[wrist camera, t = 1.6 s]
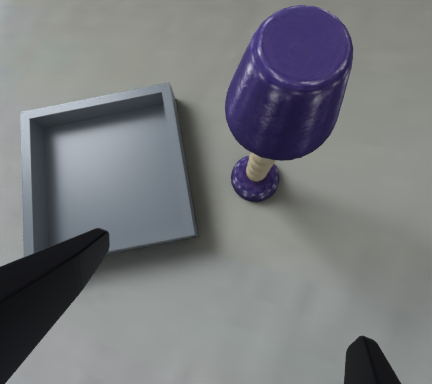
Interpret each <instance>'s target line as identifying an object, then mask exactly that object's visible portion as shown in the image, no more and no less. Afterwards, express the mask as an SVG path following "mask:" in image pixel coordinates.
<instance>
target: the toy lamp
mask: <svg viewBox="0 0 432 384" xmlns="http://www.w3.org/2000/svg"><path fill="white" fill-rule="evenodd" d="M352 60H353V45H352V41H351V37H350V35H349V32H348V30H347V28H346V27H345V25H344V24H343V23H342V22H341V21H340V20H339V19H338V18H337V17H336V16H334V15H333V14H332V13H330V12H329V11H327V10H324V9H321V8H318V7H314V6H306V5H298V6H292V7H288V8H284V9H282V10H280V11H278V12H276V13H274V14H273V15H271V16H269V17H268V18H267V19H266V20H265V21H264V22H263V23H262V24H261V25H260V27H259V28H258V29H257V31H256V32H255V34H254V35H253V37H252V39H251V41H250V43H249V45H248V47H247V49H246V51H245V53H244V55H243V57H242V59H241V62H240V64H239V66H238V68H237V70H236V72H235V74H234V77H233V79H232V81H231V83H230V86H229V88H228V92H227V96H226V102H225V113H226V120H227V123H228V126H229V128H230V131H231V132H232V134H233V136H234V137H235V139H236V140H237V141H238V142H239V144H240V145H242V146H243V147H244V148H245V149H247V150H248V151H250V152H251V153H250V155H248V156H246V157H244V158H242V159H241V160H239V161H238V162H237V163H236V165H235V166H234V168H233V171H232V174H231V182H232V186H233V188H234V190H235V191H236V193H237V194H238V195H239V196H241V197H242V198H244V199H246V200H249V201H254V202H258V201H263V200H265V199H267V198H269V197H270V196H271V195H273V193H274V192H275V191H276V189H277V187H278V183H279V173H278V170H277V167H276V166H275V164H274V162H275V161H276V160H281V161H283V160H293V159H296V158H301V157H303V156H305V155H307V154H309V153H311V152H313V151H314V150H316V149H317V148H318V147H319V146H321V145H322V144H323V143H324V142H325V140H326V139H327V138H328V137H329V135H330V134H331V132H332V130H333V128H334V126H335V124H336V121H337V118H338V115H339V111H340V108H341V104H342V101H343V98H344V94H345V90H346V86H347V82H348V78H349V75H350V71H351V67H352Z"/></svg>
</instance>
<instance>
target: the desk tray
mask: <svg viewBox="0 0 432 384" xmlns="http://www.w3.org/2000/svg"><path fill="white" fill-rule="evenodd" d="M20 115H21V157H22V199H23V241H24V257H26V256H28V255H31V254H33V253H36V252H38V251H41V250H43V249H46V248H48V247H51V246H53V245H56V244H58V243H60V242H63V241H65V240H68V239H70V238H73V237H75V236H78V235H80V234H83V233H85V232H88V231H90V230H93V229H95V228H101V229H104V230H106V231H108V232H109V239H110V247H109V251H108V253H107V254H110V253H115V252H120V251H126V250H131V249H136V248H141V247H147V246H152V245H157V244H162V243H167V242H173V241H178V240H183V239H188V238H194V237H199V236H198V230H197V224H196V218H195V212H194V206H193V200H192V194H191V188H190V182H189V177H188V171H187V165H186V159H185V153H184V147H183V141H182V135H181V129H180V123H179V117H178V111H177V106H176V100H175V96H174V93H173V91H172V88H171V85H170V82H169V83H164V84H159V85H154V86H149V87H144V88H139V89H134V90H129V91H124V92H119V93H114V94H109V95H104V96H99V97H94V98H89V99H84V100H79V101H74V102H69V103H64V104H59V105H54V106H49V107H44V108H39V109H34V110H29V111H24V112H20Z"/></svg>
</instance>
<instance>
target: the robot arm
mask: <svg viewBox="0 0 432 384" xmlns="http://www.w3.org/2000/svg"><path fill="white" fill-rule="evenodd" d="M109 247H110V239H109V232H108V231H106V230H104V229H101V228H95V229H93V230H90V231H88V232H85V233H83V234H80V235H78V236H75V237H73V238H70V239H68V240H65V241H63V242H60V243H58V244H56V245H53V246H51V247H48V248H46V249H43V250H41V251H38V252H36V253H33V254H31V255H28V256H26V257H23V258H21V259H18V260H16V261H13V262H11V263H8V264H6V265H3V266H1V267H0V384H5V383H6V382H7V381H8V379H9V378H10V377H11V376H12V375H13V373H14V372H15V371H16V370H17V369H18V367H19V366H20V365H21V364H22V363H23V361H24V360H25V359H26V358H27V357H28V355H29V354H30V353H31V352H32V350H33V349H34V348H35V347H36V346H37V344H38V343H39V342H40V341H41V340H42V338H43V337H44V336H45V335H46V334H47V332H48V331H49V330H50V329H51V328H52V326H53V325H54V324H55V323H56V321H57V320H58V319H59V318H60V317H61V315H62V314H63V313H64V312H65V311H66V309H67V308H68V307H69V306H70V305H71V303H72V302H73V301H74V300H75V298H76V297H77V296H78V295H79V294H80V292H81V291H82V290H83V288H84V287H85V286H86V284H87V283H88V281H89V280H90V278H91V277H92V275H93V274H94V272H95V271H96V269H97V268H98V266H99V265H100V263H101V262H102V260H103V259H104V257H105V256H106V254H107V253H108V251H109ZM344 384H401V382H400V381H399V379H398V377H397V376H396V374H395V372H394V371H393V369H392V367H391V366H390V364H389V362H388V361H387V359H386V357H385V356H384V354H383V352H382V350H381V349H380V347H379V345H378V344H377V343H376V341H374V340H373V339H370V338H368V337H365V336H359V337H358V338H357V339H356V340H355V341H354V342H353V343H352V344H351V345H350V346H349V347H348V349H347V352H346V362H345V377H344Z"/></svg>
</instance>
